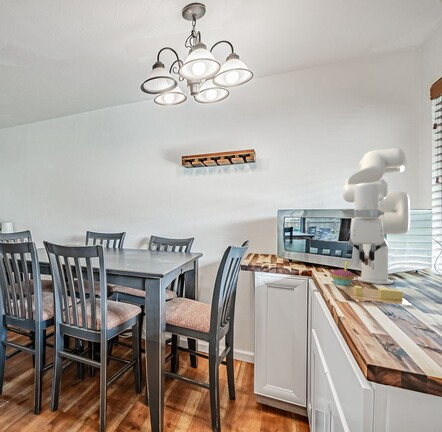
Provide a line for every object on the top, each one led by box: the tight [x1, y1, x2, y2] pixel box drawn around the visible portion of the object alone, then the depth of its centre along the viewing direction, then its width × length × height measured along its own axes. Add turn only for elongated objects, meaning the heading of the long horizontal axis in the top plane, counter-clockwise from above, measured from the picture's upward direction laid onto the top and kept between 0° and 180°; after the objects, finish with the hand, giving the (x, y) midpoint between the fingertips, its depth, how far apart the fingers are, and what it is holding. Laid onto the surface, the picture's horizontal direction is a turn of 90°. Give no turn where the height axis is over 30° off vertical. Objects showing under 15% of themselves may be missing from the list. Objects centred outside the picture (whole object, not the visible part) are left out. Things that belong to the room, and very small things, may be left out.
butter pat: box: [353, 285, 364, 296], centre depth 118 cm, size 4×2×3 cm, turn 151°
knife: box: [360, 255, 374, 270], centre depth 121 cm, size 20×2×3 cm, turn 150°
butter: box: [377, 287, 404, 300], centre depth 113 cm, size 4×6×3 cm, turn 60°
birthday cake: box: [329, 258, 355, 286], centre depth 137 cm, size 9×8×12 cm
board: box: [343, 286, 412, 306], centre depth 118 cm, size 22×16×1 cm
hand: (366, 261), depth 124 cm, fingers closed on knife, 1 cm apart
